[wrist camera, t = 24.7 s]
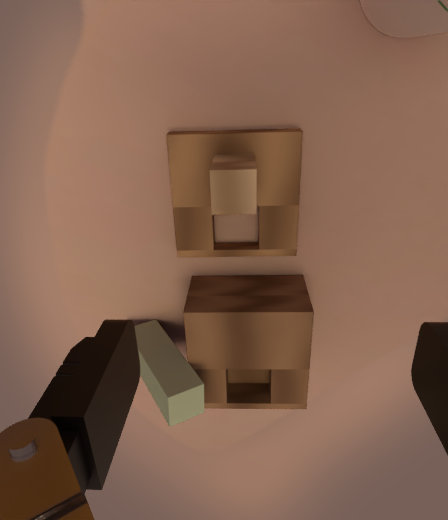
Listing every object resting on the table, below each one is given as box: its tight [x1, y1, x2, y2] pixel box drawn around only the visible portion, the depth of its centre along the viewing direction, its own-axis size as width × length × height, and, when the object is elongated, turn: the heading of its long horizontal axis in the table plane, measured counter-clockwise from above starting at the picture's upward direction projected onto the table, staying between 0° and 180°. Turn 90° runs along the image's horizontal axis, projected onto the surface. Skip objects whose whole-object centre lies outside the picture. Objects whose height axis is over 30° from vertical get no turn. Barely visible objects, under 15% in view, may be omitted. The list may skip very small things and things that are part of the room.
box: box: [183, 275, 314, 409], centre depth 36 cm, size 10×10×6 cm
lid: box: [166, 128, 303, 257], centre depth 30 cm, size 10×10×6 cm
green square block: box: [134, 319, 204, 427], centre depth 35 cm, size 3×3×10 cm
